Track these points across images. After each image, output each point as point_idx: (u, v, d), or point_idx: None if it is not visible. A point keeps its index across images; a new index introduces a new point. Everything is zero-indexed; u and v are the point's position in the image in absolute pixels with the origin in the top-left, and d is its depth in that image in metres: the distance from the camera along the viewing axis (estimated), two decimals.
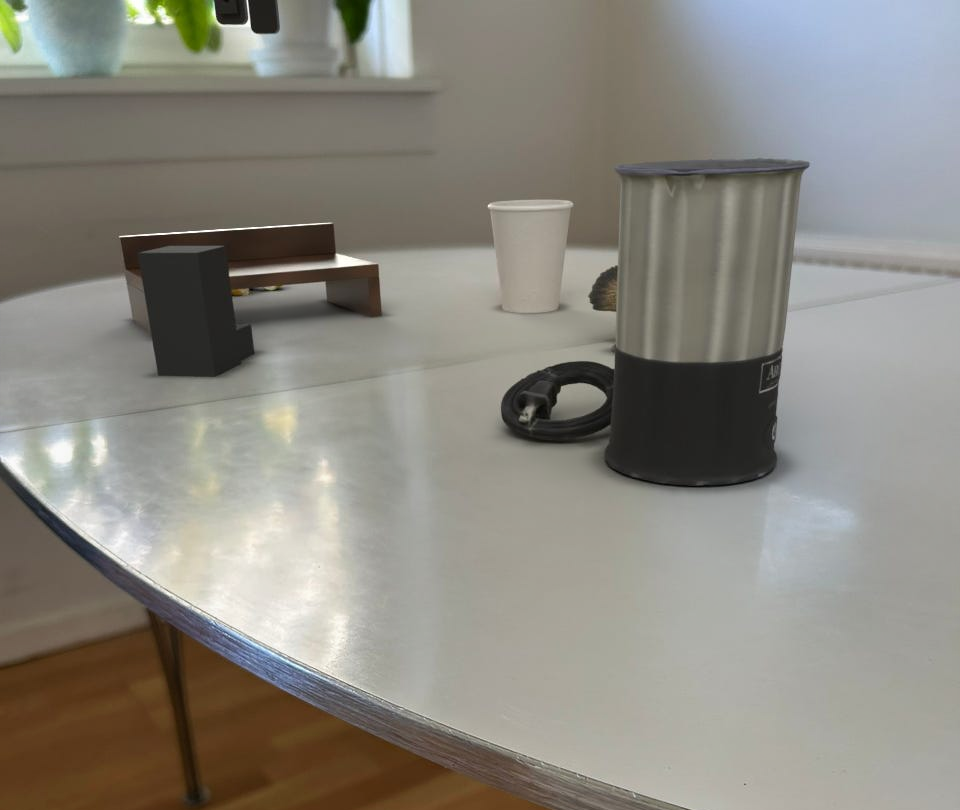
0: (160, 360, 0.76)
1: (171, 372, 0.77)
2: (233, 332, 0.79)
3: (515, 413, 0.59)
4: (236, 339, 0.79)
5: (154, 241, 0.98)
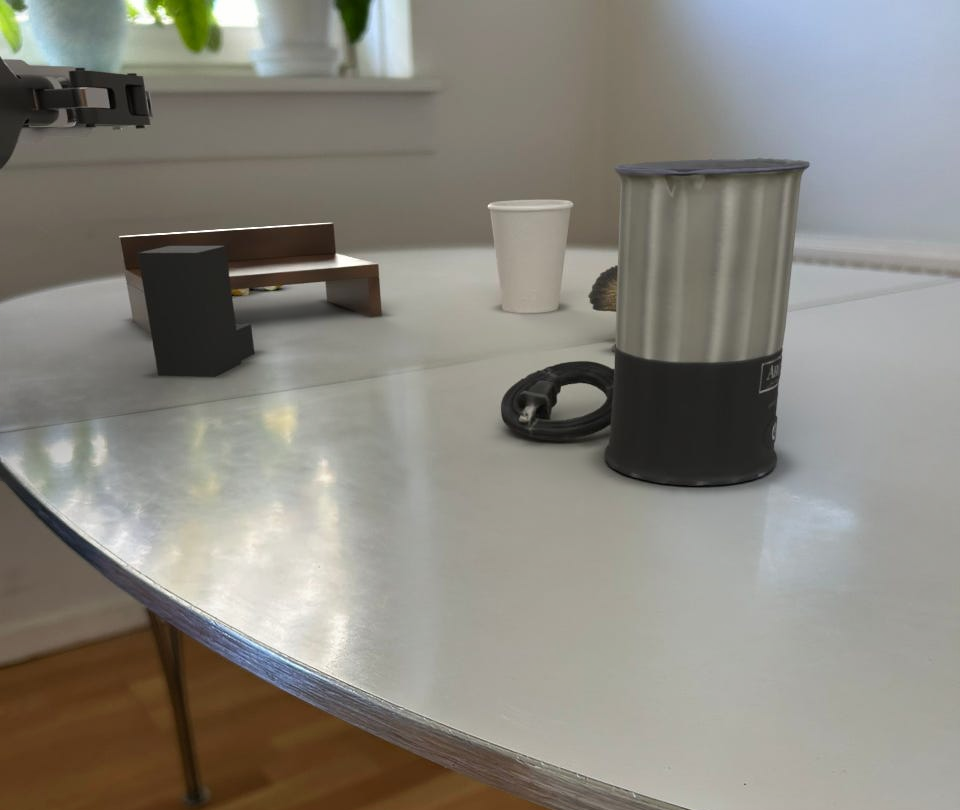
0: (160, 360, 0.76)
1: (171, 372, 0.77)
2: (233, 332, 0.79)
3: (515, 413, 0.59)
4: (236, 339, 0.79)
5: (154, 241, 0.98)
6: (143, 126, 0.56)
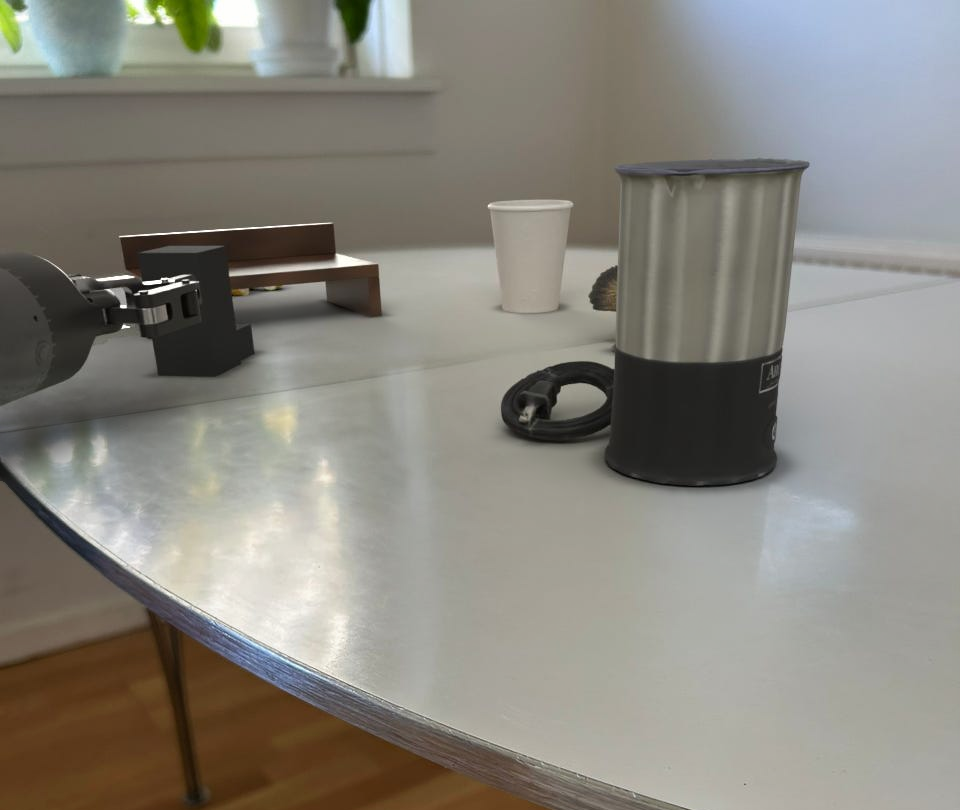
0: (160, 360, 0.76)
1: (171, 372, 0.77)
2: (233, 332, 0.79)
3: (515, 413, 0.59)
4: (236, 339, 0.79)
5: (154, 241, 0.98)
6: None
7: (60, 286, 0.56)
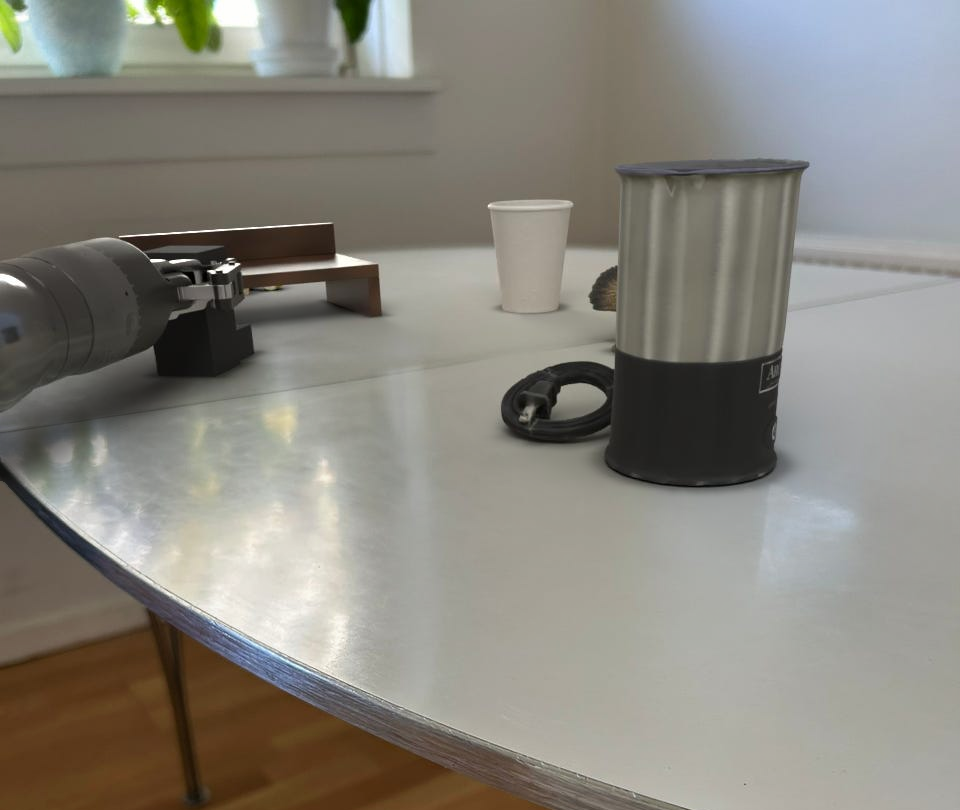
0: (160, 360, 0.76)
1: (171, 372, 0.77)
2: (233, 332, 0.79)
3: (515, 413, 0.59)
4: (236, 339, 0.79)
5: (154, 241, 0.98)
6: None
7: (144, 266, 0.64)
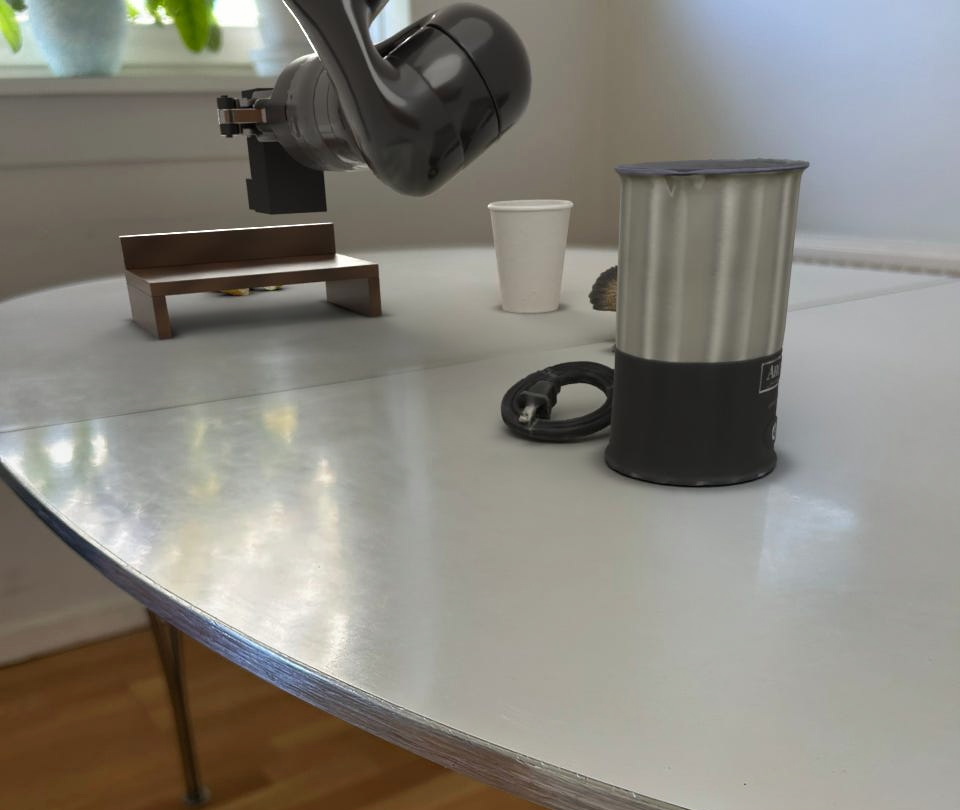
0: (274, 197, 0.80)
1: (284, 209, 0.81)
2: None
3: (515, 413, 0.59)
4: None
5: (154, 241, 0.98)
6: None
7: None
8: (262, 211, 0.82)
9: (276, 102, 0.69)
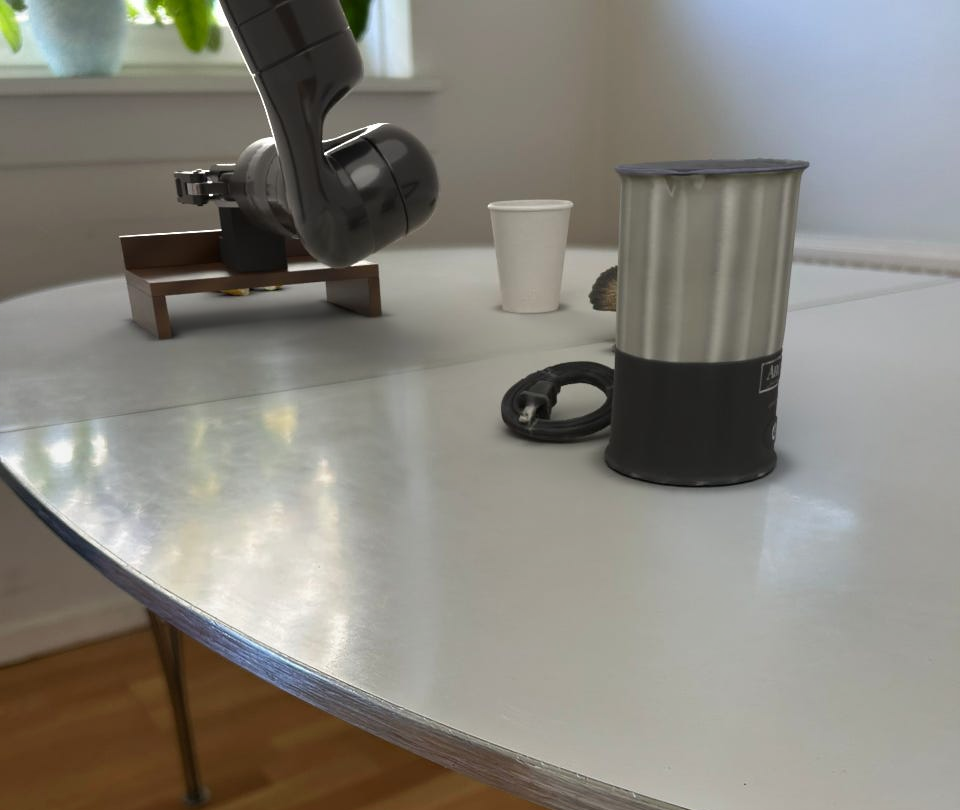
0: (241, 258, 0.93)
1: (250, 268, 0.94)
2: None
3: (515, 413, 0.59)
4: None
5: (154, 241, 0.98)
6: None
7: None
8: (232, 268, 0.95)
9: (237, 179, 0.82)
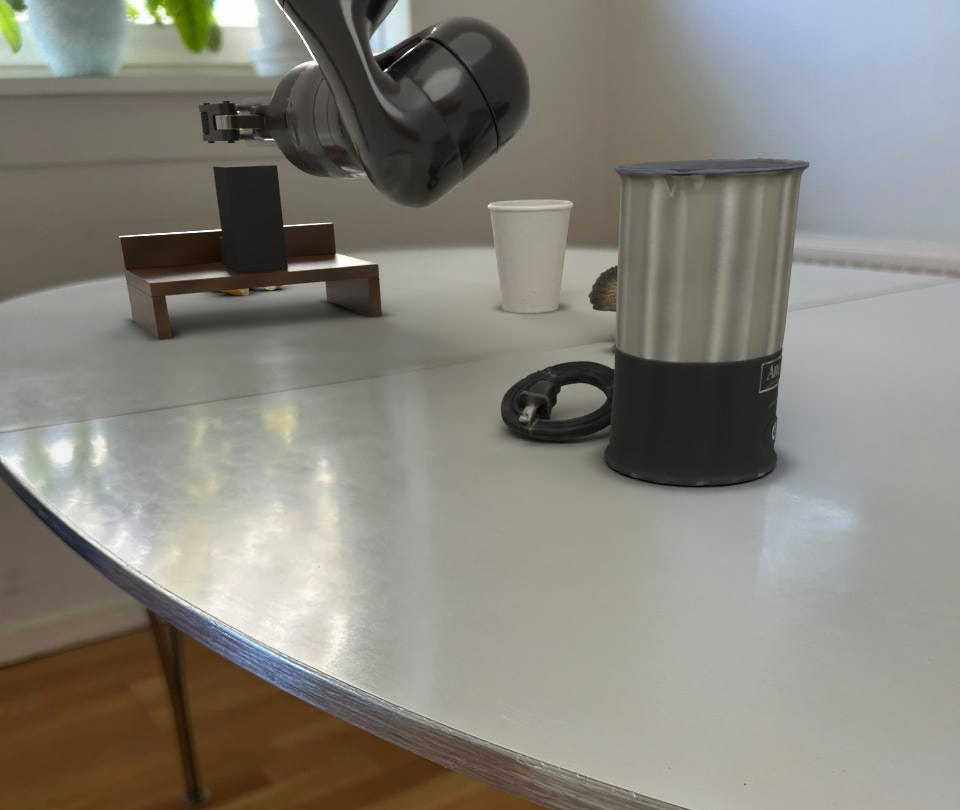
0: (241, 258, 0.93)
1: (250, 268, 0.94)
2: None
3: (515, 413, 0.59)
4: None
5: (154, 241, 0.98)
6: None
7: None
8: (232, 268, 0.95)
9: (276, 109, 0.70)
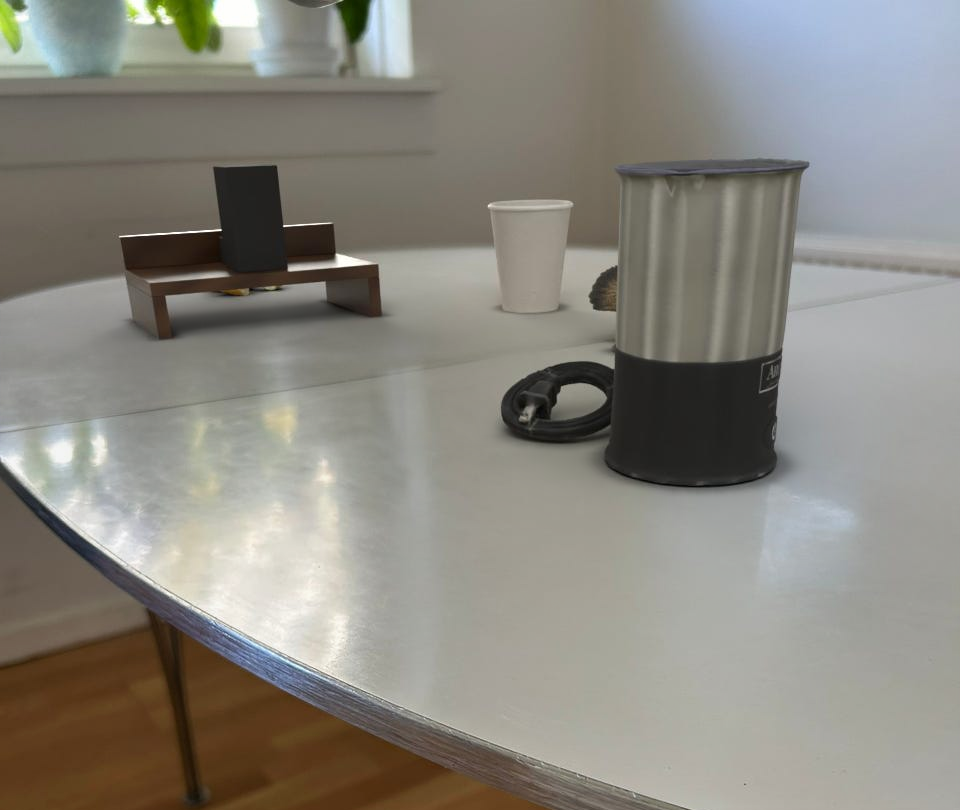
0: (241, 258, 0.93)
1: (250, 268, 0.94)
2: None
3: (515, 413, 0.59)
4: None
5: (154, 241, 0.98)
6: None
7: None
8: (232, 268, 0.95)
9: None
